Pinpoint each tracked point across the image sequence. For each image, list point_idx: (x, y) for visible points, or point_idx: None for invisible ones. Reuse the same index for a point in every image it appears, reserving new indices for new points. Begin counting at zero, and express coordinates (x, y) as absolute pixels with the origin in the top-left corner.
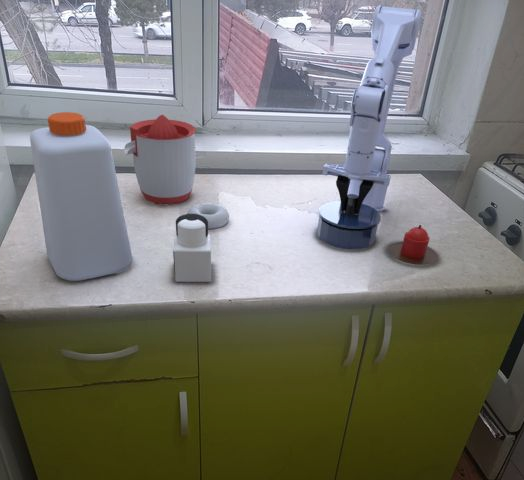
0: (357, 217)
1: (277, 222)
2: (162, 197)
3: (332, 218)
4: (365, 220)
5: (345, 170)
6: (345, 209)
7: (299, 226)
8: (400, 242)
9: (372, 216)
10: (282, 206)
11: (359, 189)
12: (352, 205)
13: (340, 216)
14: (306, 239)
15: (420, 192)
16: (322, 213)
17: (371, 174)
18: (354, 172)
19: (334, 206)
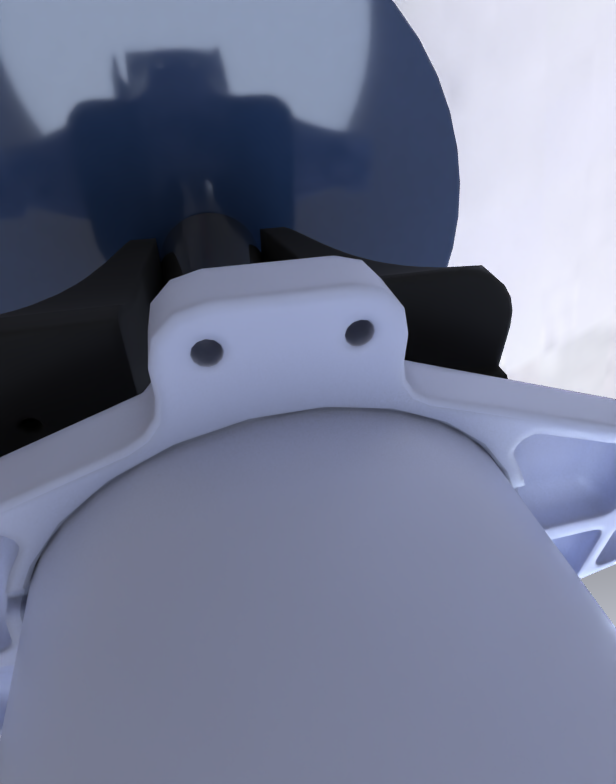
0: (115, 207)
1: (598, 178)
2: None
3: (322, 45)
4: (15, 180)
5: (502, 472)
6: (252, 241)
7: (481, 195)
8: None
9: (11, 304)
10: (563, 358)
11: (123, 305)
12: (193, 253)
13: (263, 143)
14: (426, 19)
15: None
16: (425, 121)
17: (5, 631)
18: (315, 452)
19: None
